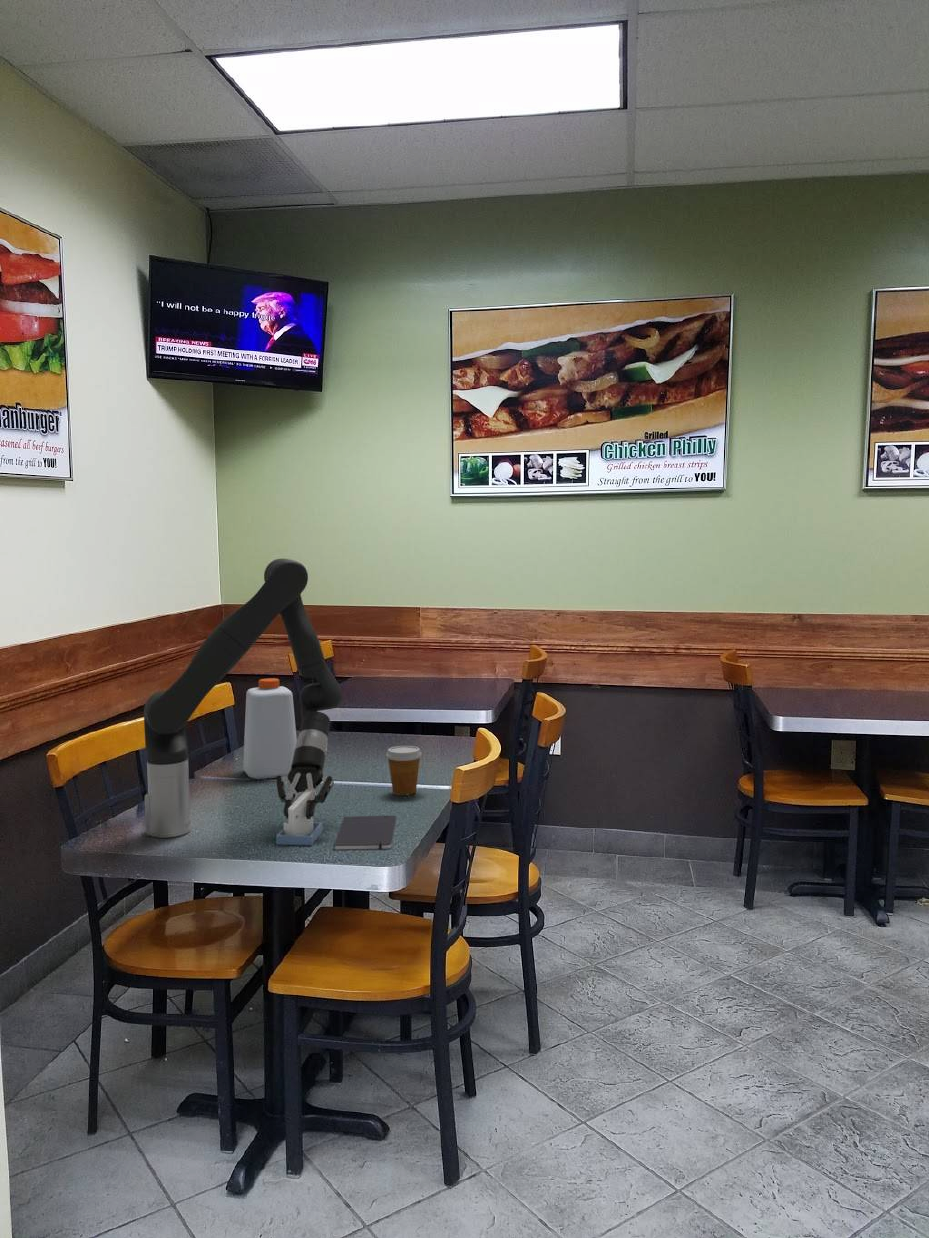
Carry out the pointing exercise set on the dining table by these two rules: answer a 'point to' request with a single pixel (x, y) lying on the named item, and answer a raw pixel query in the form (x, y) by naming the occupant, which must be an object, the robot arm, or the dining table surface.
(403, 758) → the disposable coffee cup
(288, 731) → the plastic bottle
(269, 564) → the robot arm
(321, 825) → the blue rectangular frame
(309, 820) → the white angled block
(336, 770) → the dining table surface
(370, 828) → the notebook
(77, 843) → the dining table surface
